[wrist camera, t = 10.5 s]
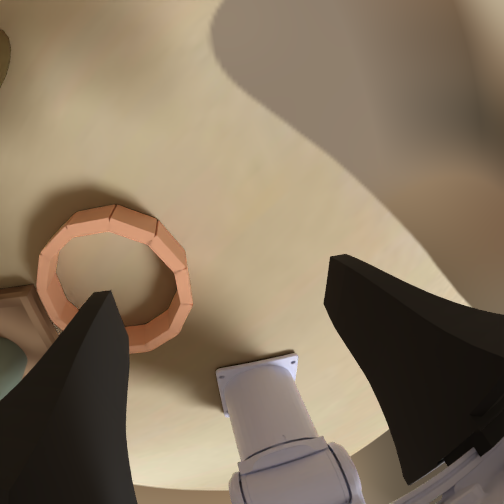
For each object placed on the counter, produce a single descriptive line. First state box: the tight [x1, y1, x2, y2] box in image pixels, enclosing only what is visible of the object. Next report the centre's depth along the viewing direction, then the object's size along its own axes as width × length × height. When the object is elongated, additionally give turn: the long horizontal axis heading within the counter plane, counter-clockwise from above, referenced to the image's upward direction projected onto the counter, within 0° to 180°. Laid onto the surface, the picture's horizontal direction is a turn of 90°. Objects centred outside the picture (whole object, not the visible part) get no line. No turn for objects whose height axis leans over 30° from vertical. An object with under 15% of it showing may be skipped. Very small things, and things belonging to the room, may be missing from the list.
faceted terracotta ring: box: [36, 204, 193, 354], centre depth 18 cm, size 11×11×2 cm
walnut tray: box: [0, 284, 59, 379], centre depth 18 cm, size 13×13×2 cm
